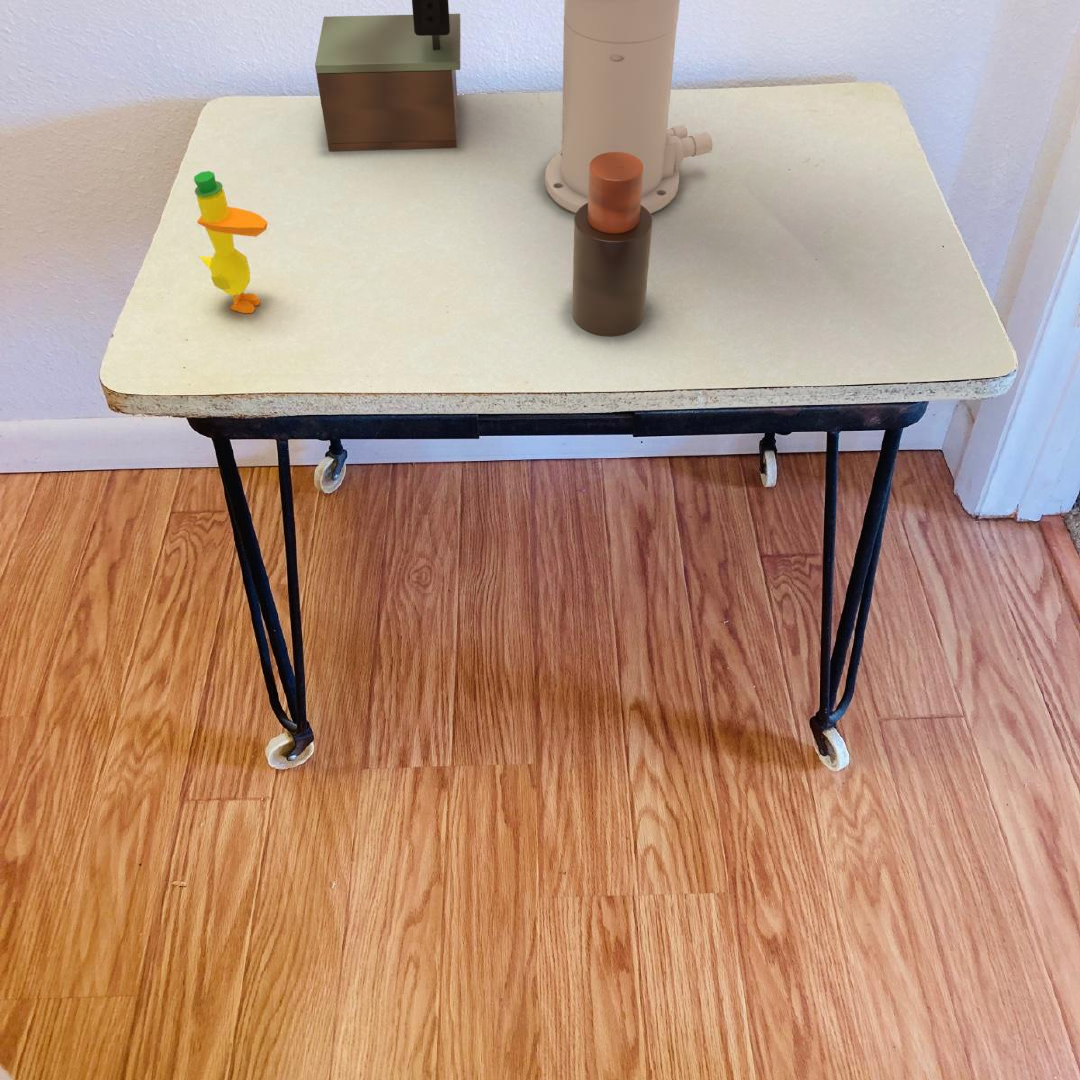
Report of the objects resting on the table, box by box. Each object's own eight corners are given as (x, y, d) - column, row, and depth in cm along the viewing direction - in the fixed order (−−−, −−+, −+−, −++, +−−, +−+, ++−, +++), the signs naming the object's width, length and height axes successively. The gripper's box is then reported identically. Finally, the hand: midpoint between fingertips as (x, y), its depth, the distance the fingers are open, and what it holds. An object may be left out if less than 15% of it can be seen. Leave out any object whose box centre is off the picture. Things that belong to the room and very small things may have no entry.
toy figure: (293, 300, 92) (265, 171, 82) (276, 326, 89) (245, 196, 80) (220, 287, 93) (184, 159, 84) (201, 313, 90) (162, 184, 81)
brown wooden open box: (457, 97, 114) (452, 22, 108) (456, 147, 107) (451, 70, 101) (336, 100, 113) (325, 25, 107) (328, 151, 107) (316, 74, 101)
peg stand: (625, 284, 93) (631, 190, 86) (656, 325, 89) (665, 231, 82) (560, 301, 91) (562, 207, 85) (590, 343, 88) (594, 249, 81)
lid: (460, 21, 108) (457, -41, 103) (460, 70, 101) (456, 6, 97) (324, 24, 107) (315, -38, 103) (316, 73, 101) (305, 10, 96)
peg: (625, 199, 85) (629, 147, 82) (648, 226, 83) (652, 173, 79) (579, 211, 84) (580, 158, 81) (600, 238, 82) (603, 185, 78)
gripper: (464, -167, 83) (474, 53, 96) (464, -236, 94) (472, -31, 108) (366, -166, 83) (389, 54, 96) (377, -235, 94) (396, -30, 107)
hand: (433, 9), depth 102 cm, fingers open, 9 cm apart
